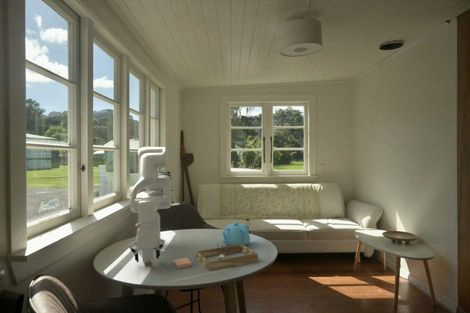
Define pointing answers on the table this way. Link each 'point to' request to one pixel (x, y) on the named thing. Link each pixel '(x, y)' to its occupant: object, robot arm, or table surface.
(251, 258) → the wooden frame
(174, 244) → the table surface
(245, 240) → the decorative pot
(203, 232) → the table surface
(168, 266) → the mat
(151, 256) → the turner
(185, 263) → the tile
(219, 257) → the reed diffuser
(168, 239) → the table surface
